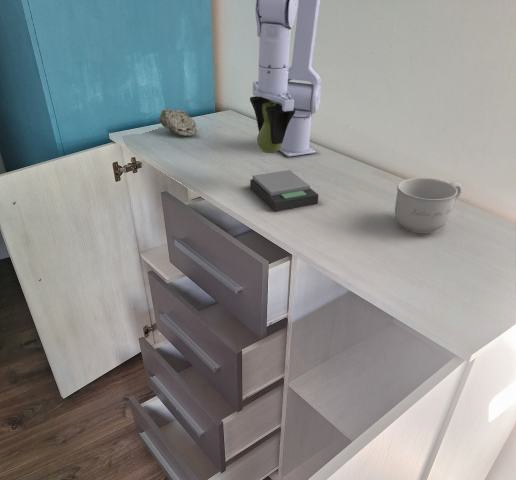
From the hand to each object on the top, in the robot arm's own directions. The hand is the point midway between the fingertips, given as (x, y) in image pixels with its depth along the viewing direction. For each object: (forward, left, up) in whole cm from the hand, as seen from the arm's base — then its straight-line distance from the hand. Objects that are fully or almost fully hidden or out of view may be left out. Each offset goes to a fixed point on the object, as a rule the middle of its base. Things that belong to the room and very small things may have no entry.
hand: (270, 138), depth 105 cm
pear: (0, 0, -3) cm, 3 cm away
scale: (+6, 0, -10) cm, 12 cm away
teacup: (+28, +20, -10) cm, 36 cm away
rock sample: (-39, -7, -10) cm, 40 cm away
